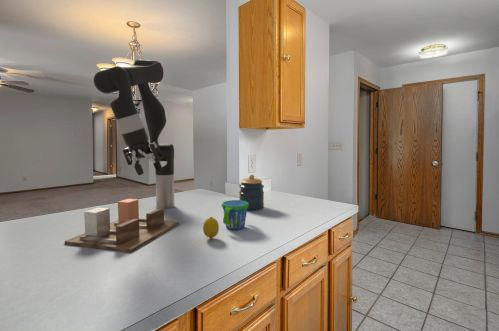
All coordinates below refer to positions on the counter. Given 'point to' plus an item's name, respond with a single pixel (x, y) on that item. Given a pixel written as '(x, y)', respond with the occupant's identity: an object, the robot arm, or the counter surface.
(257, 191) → the canister
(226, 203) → the snack cup
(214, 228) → the lemon
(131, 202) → the terracotta slider
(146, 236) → the board
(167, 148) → the robot arm
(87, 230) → the steel slider
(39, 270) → the counter surface
